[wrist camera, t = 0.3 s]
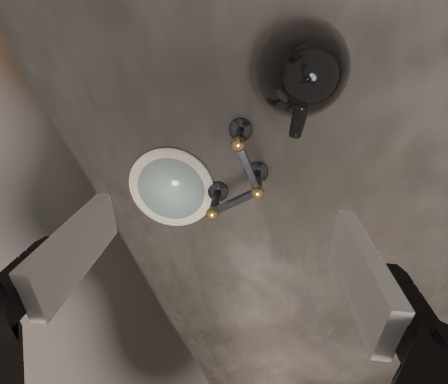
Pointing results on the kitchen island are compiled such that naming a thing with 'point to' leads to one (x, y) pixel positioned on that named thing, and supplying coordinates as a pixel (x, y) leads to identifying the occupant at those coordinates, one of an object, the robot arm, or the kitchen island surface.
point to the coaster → (171, 186)
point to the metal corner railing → (255, 170)
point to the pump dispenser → (301, 69)
